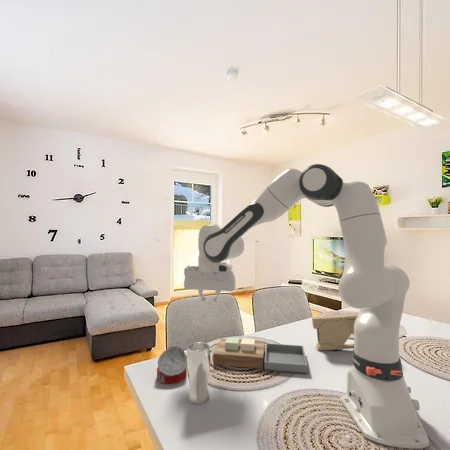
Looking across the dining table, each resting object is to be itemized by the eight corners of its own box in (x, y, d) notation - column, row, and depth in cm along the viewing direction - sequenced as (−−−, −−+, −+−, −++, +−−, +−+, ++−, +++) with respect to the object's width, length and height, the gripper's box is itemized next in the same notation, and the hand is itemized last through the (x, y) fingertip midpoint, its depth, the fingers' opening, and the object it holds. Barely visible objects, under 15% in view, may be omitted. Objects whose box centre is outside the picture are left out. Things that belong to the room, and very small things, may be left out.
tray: (307, 374, 94) (307, 365, 94) (264, 370, 97) (264, 361, 97) (302, 353, 110) (302, 345, 110) (266, 350, 113) (265, 343, 113)
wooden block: (263, 369, 98) (263, 357, 98) (213, 364, 101) (213, 353, 101) (264, 351, 112) (264, 341, 112) (220, 348, 115) (220, 338, 115)
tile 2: (254, 351, 103) (254, 344, 103) (240, 350, 104) (240, 343, 104) (255, 345, 108) (255, 339, 108) (242, 344, 109) (242, 338, 109)
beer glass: (188, 407, 77) (188, 352, 77) (185, 392, 84) (185, 343, 84) (212, 402, 79) (212, 349, 79) (207, 389, 86) (207, 340, 86)
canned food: (186, 385, 96) (199, 362, 95) (167, 398, 87) (181, 372, 86) (164, 363, 101) (176, 340, 100) (144, 373, 92) (157, 348, 91)
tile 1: (238, 350, 104) (238, 343, 104) (224, 349, 105) (224, 342, 105) (239, 344, 109) (239, 338, 109) (227, 343, 110) (227, 337, 110)
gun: (376, 349, 113) (372, 312, 114) (380, 353, 110) (376, 315, 110) (315, 352, 116) (311, 316, 116) (317, 356, 112) (313, 318, 113)
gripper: (181, 266, 108) (181, 302, 108) (233, 267, 104) (233, 304, 104) (186, 264, 114) (186, 298, 114) (236, 265, 110) (236, 300, 110)
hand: (209, 301), depth 109 cm, fingers open, 3 cm apart
